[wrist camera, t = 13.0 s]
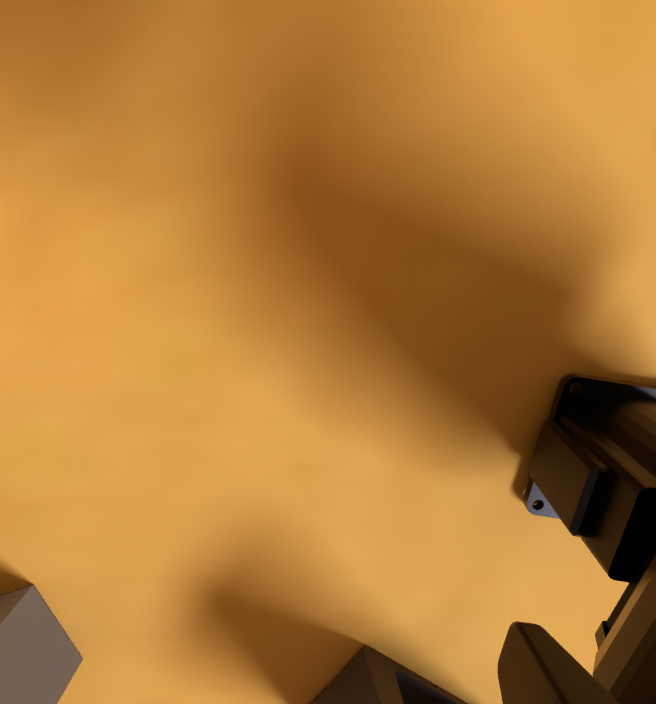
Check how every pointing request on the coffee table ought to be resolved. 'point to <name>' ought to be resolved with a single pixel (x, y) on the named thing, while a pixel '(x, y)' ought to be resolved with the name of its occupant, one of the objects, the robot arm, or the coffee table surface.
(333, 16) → the coffee table surface
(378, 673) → the door stopper
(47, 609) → the grey box
